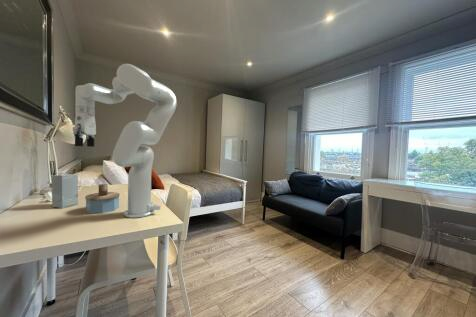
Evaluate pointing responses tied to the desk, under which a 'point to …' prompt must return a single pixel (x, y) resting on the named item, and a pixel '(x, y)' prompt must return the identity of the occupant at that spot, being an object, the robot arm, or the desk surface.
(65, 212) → the desk surface
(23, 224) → the desk surface
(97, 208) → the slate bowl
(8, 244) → the desk surface
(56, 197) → the skincare box
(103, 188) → the walnut lid
